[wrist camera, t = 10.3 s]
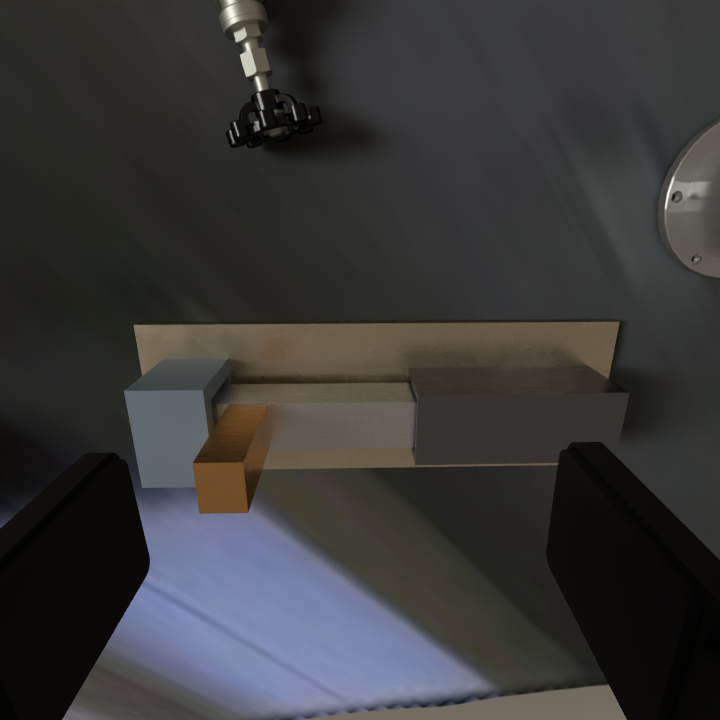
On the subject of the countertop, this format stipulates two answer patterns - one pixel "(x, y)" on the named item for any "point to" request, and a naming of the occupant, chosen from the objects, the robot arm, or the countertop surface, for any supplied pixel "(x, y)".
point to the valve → (260, 81)
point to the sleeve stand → (429, 381)
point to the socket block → (173, 417)
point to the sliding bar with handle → (293, 430)
